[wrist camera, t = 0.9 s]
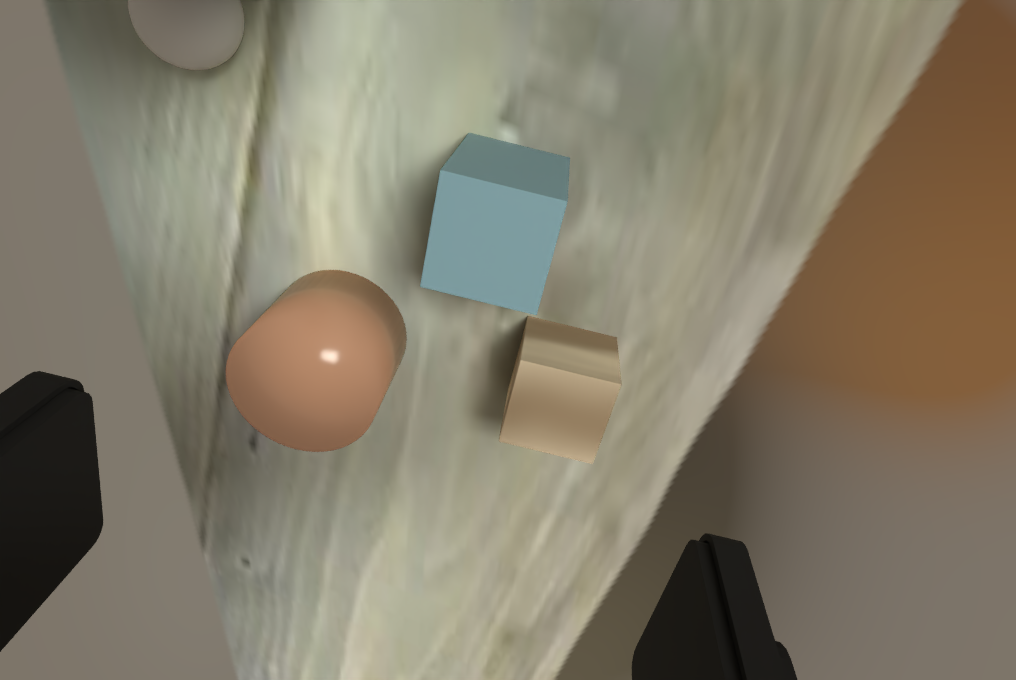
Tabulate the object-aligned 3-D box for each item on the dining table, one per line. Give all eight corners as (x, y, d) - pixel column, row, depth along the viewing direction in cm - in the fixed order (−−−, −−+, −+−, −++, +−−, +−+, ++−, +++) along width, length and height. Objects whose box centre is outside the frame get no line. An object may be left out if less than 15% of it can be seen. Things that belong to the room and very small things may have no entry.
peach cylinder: (281, 255, 29) (226, 303, 24) (416, 288, 29) (386, 342, 24) (274, 370, 32) (224, 432, 27) (396, 399, 32) (367, 466, 27)
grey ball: (164, -57, 23) (98, -64, 20) (263, -31, 23) (214, -34, 20) (166, 51, 25) (107, 61, 22) (259, 74, 25) (213, 87, 22)
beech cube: (527, 315, 29) (520, 360, 25) (616, 336, 29) (621, 384, 26) (508, 389, 31) (498, 441, 27) (591, 409, 31) (592, 464, 27)
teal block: (468, 132, 26) (440, 169, 20) (569, 157, 26) (567, 201, 20) (450, 229, 27) (420, 286, 22) (544, 252, 28) (536, 315, 22)
